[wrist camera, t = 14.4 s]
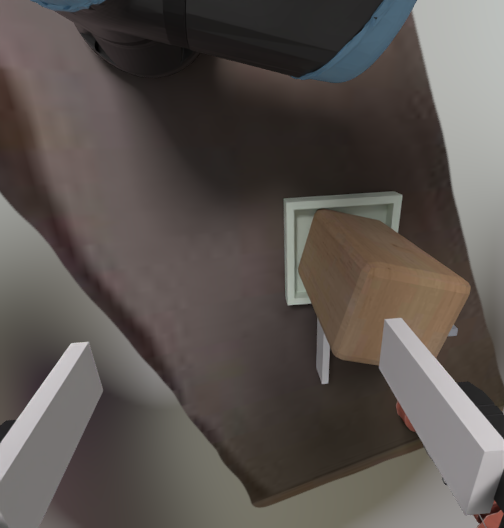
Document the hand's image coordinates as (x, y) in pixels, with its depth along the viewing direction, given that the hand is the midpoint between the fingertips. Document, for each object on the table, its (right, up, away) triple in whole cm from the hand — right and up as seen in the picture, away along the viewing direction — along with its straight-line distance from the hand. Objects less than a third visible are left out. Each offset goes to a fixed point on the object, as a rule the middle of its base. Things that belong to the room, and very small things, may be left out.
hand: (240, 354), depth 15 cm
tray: (+13, +7, +34) cm, 36 cm away
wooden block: (+13, +7, +33) cm, 36 cm away
